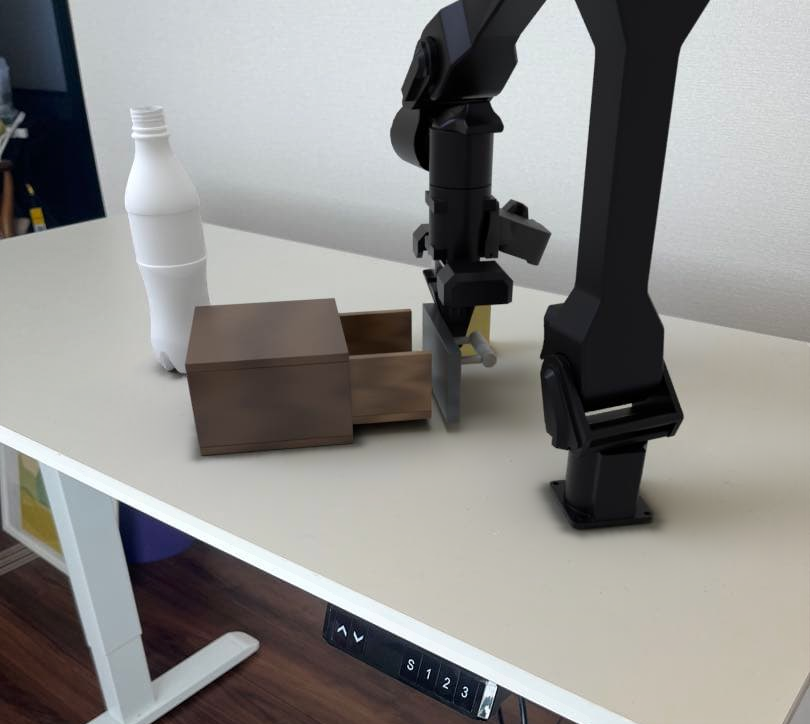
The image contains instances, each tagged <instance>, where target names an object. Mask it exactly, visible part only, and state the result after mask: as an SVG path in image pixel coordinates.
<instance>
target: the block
mask: <svg viewBox="0 0 810 724" xmlns="http://www.w3.org/2000/svg"><path fill="white" fill-rule="evenodd" d="M491 313H492V305H485V306H475V309H474V312H473V315H472V318H471V321H470V324H469V327H468V331H467V334H466V336H469V335H470V334H471V333H472V332H474V331H479V332H480V333H481V334H482V335H483V337H484V339H485V340H486V342H487V343H488V345H489V346H490V338H491V337H490V336H491V335H490V334H491V319H492V318H491V317H492V315H491ZM459 349H460V350H461V352H462V356H461V357H464V356H478V355H477V354H476V352H475V350H474V349H473V347H472V345H471V344H463V346H462V347H461V348H459Z"/></svg>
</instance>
